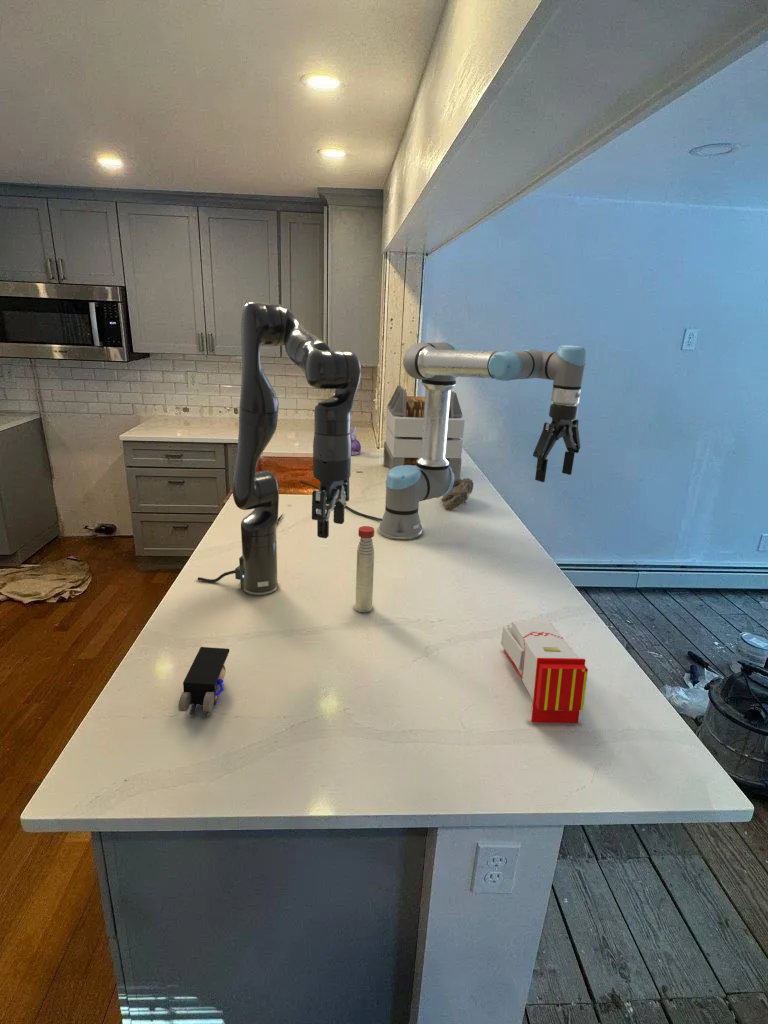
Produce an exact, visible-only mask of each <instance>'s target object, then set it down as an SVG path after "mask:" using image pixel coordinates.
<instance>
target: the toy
mask: <svg viewBox="0 0 768 1024" xmlns="http://www.w3.org/2000/svg"><path fill="white" fill-rule="evenodd" d="M500 645H501V646H502V648H503V652H504V654H505V655H506V657H507V658H508V660H509V661H510V663H511V664H512V666H513V668H514V669H515V671H516V672H517V674H518V676H519V677H520V679H521V680H522V683H523V685H524V686H525V688H526V690H527V692H528V694H529V696H530V697H531V699H532V708H531V719H530V722H531V723H532V724H579V719H580V712H583V711H584V706H585V697H586V689H587V680H588V671H589V669H588V667H587V666H586V659H585V658H580V657H579V656H578V655H577V654H576V652H575V651H574V650H573V648H572V647H571V646H570V645H569V644H568V642H567V641H566V640H565V638H564V637H563V636H562V634H561V633H560V632H559V631H558V630H557V628H556V627H555V626H554V624H553V623H552V622H551V621H549V620H548V621H545V620H540V621H539V620H511V622H508V623H507V626H502V632H501V638H500Z"/></svg>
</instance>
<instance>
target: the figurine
mask: <svg viewBox="0 0 768 1024" xmlns="http://www.w3.org/2000/svg"><path fill="white" fill-rule="evenodd" d="M356 430H357V425H353V426H352V428H351V427H350V438H351V456H357V455H360V454H361V449H362V446H361V443H360V441H359V440H358V439H357V438H358V437H357V434H356Z"/></svg>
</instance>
